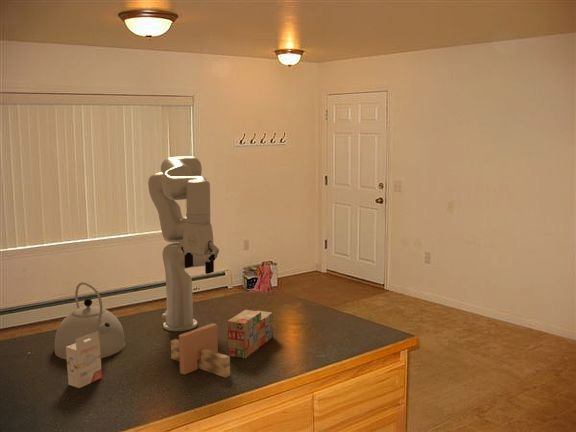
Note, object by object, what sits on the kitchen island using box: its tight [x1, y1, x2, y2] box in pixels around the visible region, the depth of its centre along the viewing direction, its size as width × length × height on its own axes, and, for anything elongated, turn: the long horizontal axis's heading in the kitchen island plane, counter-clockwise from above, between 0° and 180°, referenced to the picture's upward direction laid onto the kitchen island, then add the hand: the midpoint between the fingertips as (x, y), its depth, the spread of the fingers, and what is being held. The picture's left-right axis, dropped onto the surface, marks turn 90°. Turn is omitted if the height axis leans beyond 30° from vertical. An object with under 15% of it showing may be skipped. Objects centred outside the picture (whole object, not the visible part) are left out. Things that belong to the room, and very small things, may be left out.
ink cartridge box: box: [66, 332, 103, 389], centre depth 174 cm, size 9×5×15 cm, turn 148°
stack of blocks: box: [227, 309, 274, 359], centre depth 202 cm, size 21×6×12 cm, turn 156°
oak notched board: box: [170, 338, 231, 379], centre depth 185 cm, size 24×2×6 cm, turn 52°
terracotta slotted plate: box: [178, 322, 219, 375], centre depth 185 cm, size 2×14×12 cm, turn 141°
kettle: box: [54, 281, 126, 361], centre depth 199 cm, size 25×23×22 cm
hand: (199, 269), depth 193 cm, fingers open, 9 cm apart
